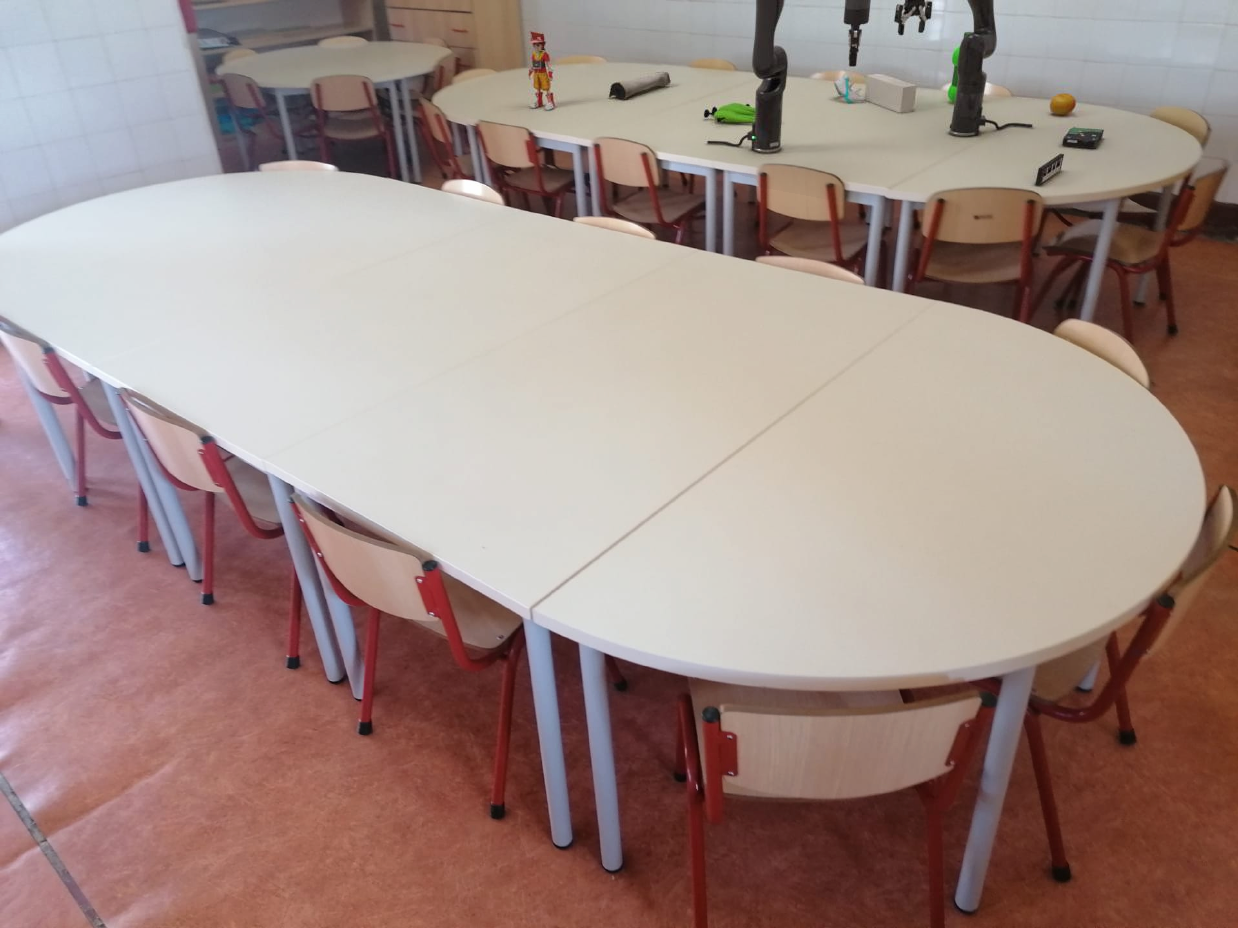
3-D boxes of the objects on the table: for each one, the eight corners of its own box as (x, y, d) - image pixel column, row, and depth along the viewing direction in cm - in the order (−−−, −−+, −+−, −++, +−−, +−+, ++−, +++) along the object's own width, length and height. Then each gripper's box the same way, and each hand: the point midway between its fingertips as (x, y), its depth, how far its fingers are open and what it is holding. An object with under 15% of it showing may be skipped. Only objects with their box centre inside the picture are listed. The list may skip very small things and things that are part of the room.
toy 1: (525, 109, 381) (517, 32, 364) (534, 104, 388) (527, 28, 371) (550, 110, 377) (543, 32, 360) (559, 105, 384) (553, 28, 367)
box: (913, 111, 347) (916, 85, 342) (900, 113, 346) (903, 87, 341) (877, 97, 367) (879, 73, 362) (864, 99, 366) (866, 75, 360)
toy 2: (694, 121, 346) (765, 134, 333) (695, 107, 343) (767, 120, 330) (725, 110, 366) (794, 122, 353) (727, 97, 363) (796, 108, 351)
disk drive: (1095, 149, 295) (1102, 137, 305) (1097, 141, 294) (1104, 129, 304) (1061, 146, 300) (1069, 134, 310) (1063, 138, 298) (1071, 126, 309)
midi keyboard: (1039, 185, 269) (1043, 168, 266) (1035, 184, 270) (1038, 168, 267) (1060, 170, 279) (1064, 154, 277) (1056, 169, 280) (1060, 153, 277)
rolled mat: (651, 76, 408) (662, 61, 399) (662, 93, 408) (674, 79, 400) (605, 92, 391) (616, 77, 383) (617, 110, 391) (628, 95, 383)
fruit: (1046, 106, 329) (1061, 86, 326) (1044, 110, 336) (1059, 90, 333) (1065, 119, 327) (1081, 99, 324) (1063, 122, 335) (1078, 102, 332)
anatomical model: (829, 74, 368) (853, 67, 367) (832, 100, 374) (856, 93, 373) (840, 82, 356) (864, 75, 355) (842, 109, 362) (867, 102, 361)
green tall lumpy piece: (978, 101, 353) (990, 32, 339) (960, 106, 348) (971, 36, 334) (957, 97, 360) (967, 29, 346) (939, 102, 355) (949, 33, 341)
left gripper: (844, 3, 278) (840, 59, 287) (844, 10, 267) (840, 68, 276) (869, 2, 277) (864, 58, 286) (870, 9, 265) (865, 68, 275)
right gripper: (905, -12, 320) (900, 37, 329) (939, -16, 324) (933, 33, 333) (893, -14, 326) (888, 34, 335) (927, -18, 329) (921, 30, 339)
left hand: (852, 63), depth 281 cm, fingers open, 8 cm apart
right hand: (910, 34), depth 334 cm, fingers open, 8 cm apart
